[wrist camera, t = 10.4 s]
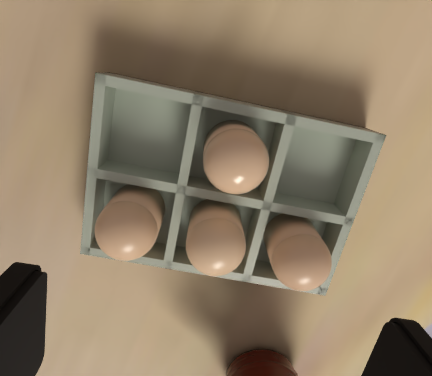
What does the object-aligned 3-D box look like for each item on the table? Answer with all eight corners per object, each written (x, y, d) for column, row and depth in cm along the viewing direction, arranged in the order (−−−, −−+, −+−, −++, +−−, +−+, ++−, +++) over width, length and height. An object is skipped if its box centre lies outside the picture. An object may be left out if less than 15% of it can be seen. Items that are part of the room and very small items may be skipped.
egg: (209, 114, 25) (210, 128, 19) (265, 125, 25) (283, 142, 19) (199, 169, 26) (196, 197, 20) (252, 179, 27) (265, 209, 21)
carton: (93, 234, 29) (60, 281, 22) (109, 72, 24) (73, 72, 18) (314, 273, 30) (341, 327, 24) (365, 128, 26) (416, 145, 20)
